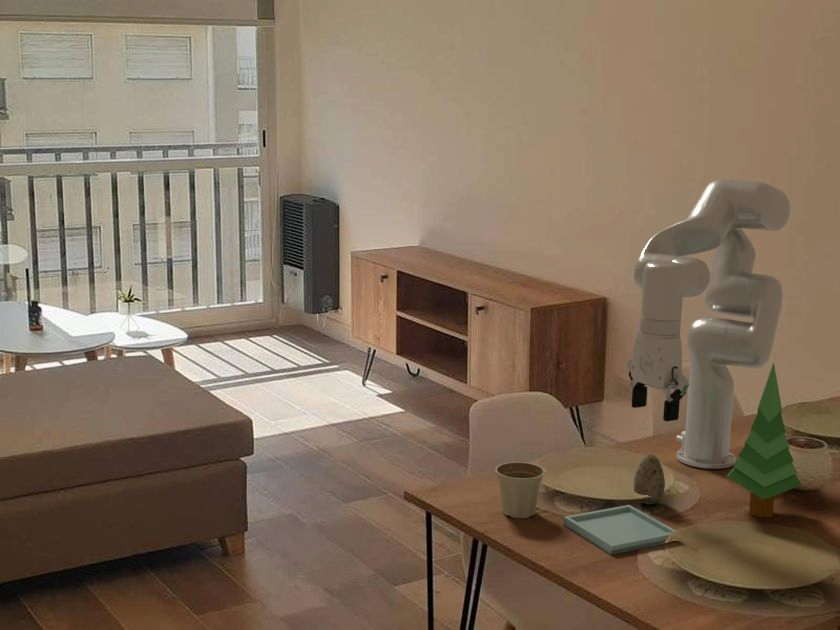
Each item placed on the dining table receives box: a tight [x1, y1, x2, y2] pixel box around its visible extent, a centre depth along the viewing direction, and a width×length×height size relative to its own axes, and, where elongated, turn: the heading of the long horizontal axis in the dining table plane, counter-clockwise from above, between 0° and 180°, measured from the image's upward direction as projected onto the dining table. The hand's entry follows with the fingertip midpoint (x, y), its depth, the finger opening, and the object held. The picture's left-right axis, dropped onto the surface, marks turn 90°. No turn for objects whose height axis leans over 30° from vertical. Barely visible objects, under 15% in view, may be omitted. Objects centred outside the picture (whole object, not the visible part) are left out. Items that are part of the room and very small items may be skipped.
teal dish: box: [562, 504, 677, 556], centre depth 216 cm, size 15×15×2 cm
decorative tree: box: [726, 362, 803, 518], centre depth 224 cm, size 14×16×30 cm
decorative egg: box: [633, 454, 666, 505], centre depth 230 cm, size 6×6×10 cm
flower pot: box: [494, 461, 546, 519], centre depth 224 cm, size 9×9×9 cm
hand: (654, 413), depth 227 cm, fingers open, 9 cm apart
